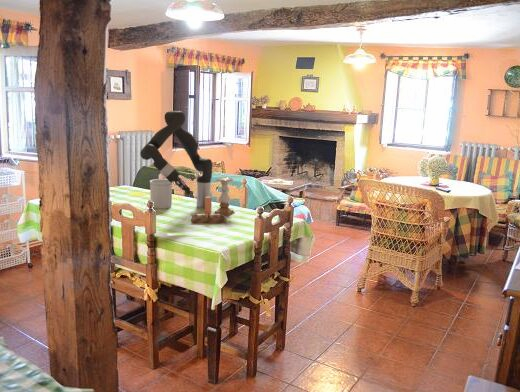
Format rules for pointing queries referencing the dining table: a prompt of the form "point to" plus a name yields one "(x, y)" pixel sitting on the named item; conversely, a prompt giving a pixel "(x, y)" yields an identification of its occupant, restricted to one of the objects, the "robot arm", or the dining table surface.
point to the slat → (208, 205)
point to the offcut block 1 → (202, 215)
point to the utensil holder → (161, 193)
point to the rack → (207, 220)
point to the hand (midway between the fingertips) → (189, 191)
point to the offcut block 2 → (214, 215)
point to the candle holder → (224, 198)
